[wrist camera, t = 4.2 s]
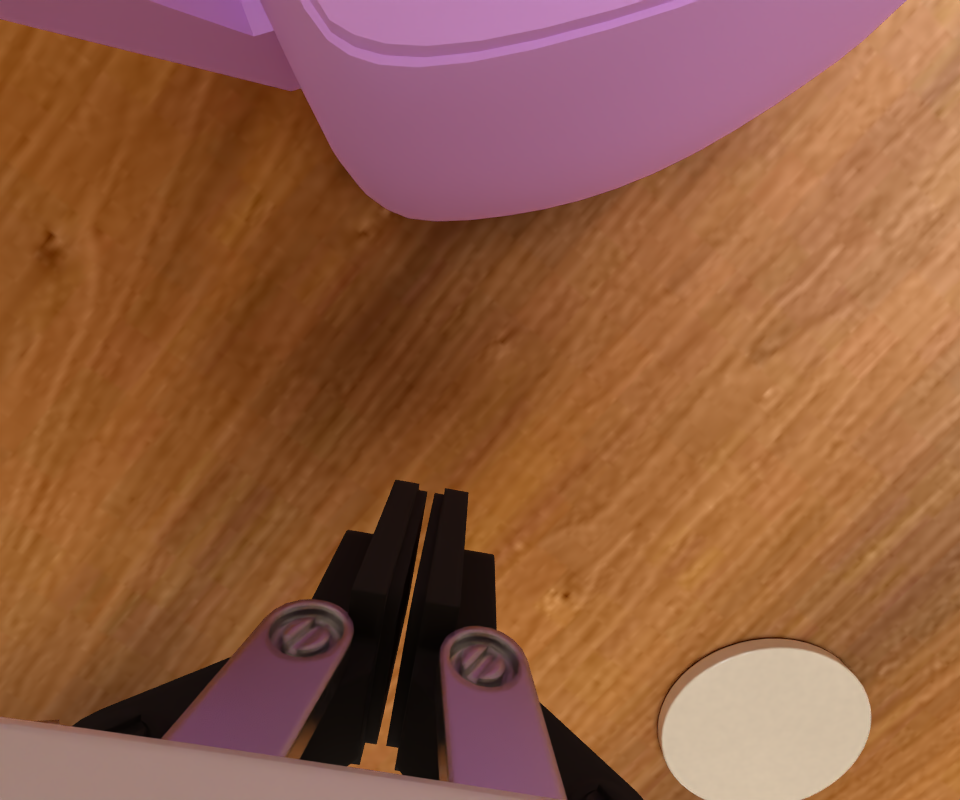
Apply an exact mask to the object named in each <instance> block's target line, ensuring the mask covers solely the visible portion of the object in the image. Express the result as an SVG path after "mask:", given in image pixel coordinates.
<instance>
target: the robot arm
mask: <svg viewBox="0 0 960 800" xmlns="http://www.w3.org/2000/svg"><path fill="white" fill-rule="evenodd" d="M426 497H427V492H426V491H420V490H419V484H417V483H411V482H406V481H400V480H395V482H394V485H393V487H392V490H391V492H390V495H389V497H388V500H387V502H386V505H385V507H384V510H383V512H382V515H381V517H380V520H379V522H378V525H377V527H376V530H375V532H374V534H369V533H363V532H357V531H352V530H347V531H346V533H345V535H344V537H343V539H342V541H341V543H340V545H339V547H338V549H337V551H336V553H335V555H334V556H333V558H332V560H331V562H330V564H329V566H328V568H327V570H326V572H325V574H324V576H323V578H322V580H321V582H320V584H319V586H318V588H317V590H316V592H315V594H314V596H313V598H312V599H307V600H298V601H294V602H290V603H286V604H284V605H282V606H280V607H278V608H276V609H274V610H273V611H272V612H271V613H270V614H269V615H268V616H266V617H265V618H264V619H263V621H262V622H261V623H260V624H259V625H258V626H257V628H256V629H255V630H254V631H253V632H252V633H251V635H250V636H249V637H248V638H247V639H246V640H245V642H244V643H243V644H242V645H241V646H240V647H239V649H238V650H237V651H236V652H235V653H234V654H233V656H232V657H230V658H227V659H225V660H222V661H220V662H217V663H215V664H213V665H210V666H208V667H205V668H203V669H200V670H198V671H195V672H193V673H190V674H188V675H185V676H183V677H180V678H178V679H175V680H173V681H170V682H168V683H165V684H163V685H160V686H158V687H156V688H153V689H151V690H148V691H146V692H143V693H141V694H138V695H136V696H133V697H131V698H128V699H126V700H123V701H121V702H118V703H116V704H113V705H111V706H108V707H106V708H104V709H101V710H99V711H97V712H95V713H93V714H91V715H89V716H87V717H85V718H83V719H81V720H80V721H78V722H77V723H76V724H74V725H73V726H64V725H59V720H47V721H28V720H20V719H13V718H4V717H0V800H643V798H642V797H641V796H640V795H639V794H638V793H637V792H636V791H635V790H634V789H633V788H632V787H631V786H630V785H629V784H628V783H627V782H626V781H624V780H623V779H622V778H621V777H620V776H619V775H618V774H617V773H616V772H615V771H614V770H613V769H611V768H610V767H609V766H608V765H607V764H606V763H605V762H604V761H603V760H602V759H601V758H600V757H598V756H597V755H596V754H595V753H594V752H593V751H592V750H591V749H590V748H589V747H588V746H587V745H585V744H584V743H583V742H582V741H581V740H580V739H579V738H578V737H577V736H576V735H575V734H574V733H572V732H571V731H570V730H569V729H568V728H567V727H566V726H565V725H564V724H563V723H562V722H561V721H559V720H558V719H557V718H556V717H555V716H554V715H553V714H552V713H551V712H550V711H549V710H548V709H546V708H545V707H544V706H543V705H542V704H541V703H540V702H539V699H538V695H537V692H536V689H535V685H534V682H533V678H532V675H531V671H530V668H529V664H528V661H527V658H526V656H525V654H524V652H523V650H522V649H521V648H520V646H519V645H518V644H517V643H516V642H515V641H514V640H513V639H511V638H510V637H508V636H507V635H505V634H504V633H502V632H500V631H497V630H496V595H495V561H494V555H493V554H487V553H481V552H475V551H469V550H464V546H465V533H466V519H467V505H468V492H463V491H457V490H452V489H446V488H445V492H444V495H443V494H438V493H435V494H434V499H433V504H432V508H431V513H430V518H429V522H428V527H427V532H426V536H425V541H424V546H423V550H422V555H421V560H420V564H419V569H418V574H417V578H416V583H415V588H414V593H413V598H412V603H411V608H410V613H409V619H408V625H407V630H406V636H405V642H404V648H403V653H402V659H401V665H400V670H399V676H398V682H397V688H396V693H395V699H394V705H393V710H392V716H391V722H390V728H389V733H388V739H387V745H386V746H391V747H397V748H398V754H397V760H396V765H395V770H397V771H400V772H401V773H402V775H399V774H392V773H386V772H379V771H373V770H366V769H360V768H353V767H347V766H348V765H350V764H357V765H360V761H361V757H362V753H363V749H364V745H365V743H371V744H377V740H378V736H379V732H380V727H381V723H382V718H383V714H384V709H385V705H386V700H387V696H388V691H389V687H390V682H391V678H392V673H393V669H394V664H395V660H396V655H397V651H398V646H399V642H400V637H401V633H402V628H403V624H404V619H405V615H406V610H407V606H408V601H409V595H410V590H411V584H412V578H413V572H414V567H415V561H416V555H417V549H418V543H419V538H420V532H421V526H422V520H423V515H424V509H425V503H426Z"/></svg>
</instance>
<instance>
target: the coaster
mask: <svg viewBox="0 0 960 800" xmlns="http://www.w3.org/2000/svg"><path fill="white" fill-rule="evenodd" d="M870 727H871V708H870V703H869V700H868V696H867V694H866V692H865V690H864V688H863V686H862V684H861V683H860V681H859V680H858V679H857V677H856V676H855V675H854V674H853V673H852V671H851V670H850V669H849V668H848V667H847V666H846V665H845V664H844V663H843V662H842V661H841V660H840V659H838V658H837V657H835V656H834V655H833V654H831V653H829V652H827V651H825V650H824V649H822V648H820V647H817V646H814V645H812V644H809V643H805V642H801V641H797V640H790V639H758V640H751V641H746V642H742V643H738V644H734V645H731V646H728V647H725V648H723V649H721V650H719V651H716V652H714V653H712V654H710V655H709V656H707V657H705V658H703V659H702V660H700V661H699V662H697V663H696V664H695V665H693V666H692V667H691V668H689V669H688V670H687V671H686V672H685V673H684V674H683V675H682V676H681V677H680V678H679V679H678V680H677V682H676V683H675V684H674V685H673V686H672V688H671V690H670V691H669V693H668V694H667V696H666V698H665V700H664V703H663V705H662V707H661V711H660V715H659V720H658V739H659V743H660V748H661V751H662V753H663V756H664V759H665V761H666V764H667V766H668V768H669V769H670V771H671V772H672V774H673V775H674V777H675V778H676V779H677V780H678V781H679V782H680V783H681V784H682V785H683V786H684V787H685V788H686V789H688V790H689V791H690V792H692V793H694V794H695V795H697V796H698V797H700V798H702V799H705V800H802V799H805V798H808V797H810V796H812V795H814V794H816V793H818V792H820V791H822V790H823V789H825V788H826V787H828V786H829V785H831V784H832V783H834V782H835V781H836V780H837V779H839V778H840V777H841V776H842V775H843V774H844V773H845V772H846V771H847V770H848V769H849V768H850V767H851V766H852V765H853V763H854V762H855V761H856V760H857V758H858V757H859V755H860V753H861V752H862V750H863V748H864V746H865V744H866V741H867V739H868V736H869V732H870Z"/></svg>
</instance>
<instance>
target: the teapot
mask: <svg viewBox="0 0 960 800" xmlns="http://www.w3.org/2000/svg"><path fill="white" fill-rule="evenodd" d="M905 1H906V0H0V19H2V20H6V21H10V22H14V23H18V24H23V25H27V26H31V27H35V28H39V29H43V30H47V31H51V32H55V33H59V34H63V35H67V36H71V37H75V38H79V39H83V40H87V41H91V42H95V43H99V44H103V45H107V46H111V47H115V48H119V49H123V50H127V51H131V52H135V53H139V54H143V55H147V56H151V57H155V58H159V59H163V60H167V61H171V62H175V63H179V64H183V65H187V66H192V67H196V68H200V69H204V70H208V71H212V72H216V73H220V74H224V75H228V76H232V77H236V78H240V79H244V80H248V81H252V82H256V83H260V84H264V85H268V86H272V87H276V88H280V89H284V90H288V91H294V90H297V89H302V91H303V93H304V95H305V97H306V99H307V101H308V103H309V105H310V107H311V109H312V111H313V113H314V115H315V117H316V119H317V121H318V123H319V125H320V127H321V129H322V131H323V133H324V135H325V137H326V139H327V141H328V143H329V145H330V147H331V149H332V150H333V152H334V153H335V155H336V156H337V158H338V160H339V161H340V162H341V164H342V165H343V166H344V168H345V169H346V170H347V171H348V173H349V174H350V175H351V177H352V178H353V179H354V180H355V182H356V183H357V184H358V186H359V187H360V188H361V189H362V190H363V191H364V192H365V194H366V195H368V196H369V197H370V198H372V199H373V200H374V201H376V202H377V203H378V204H380V205H381V206H382V207H384V208H386V209H388V210H389V211H392V212H394V213H397V214H399V215H401V216H404V217H406V218H409V219H419V220H428V221H459V220H475V219H484V218H492V217H500V216H509V215H514V214H520V213H526V212H532V211H537V210H543V209H547V208H551V207H556V206H560V205H564V204H568V203H572V202H576V201H580V200H583V199H586V198H589V197H592V196H595V195H598V194H601V193H605V192H608V191H611V190H614V189H617V188H619V187H622V186H624V185H627V184H629V183H632V182H634V181H637V180H639V179H642V178H644V177H646V176H649V175H651V174H654V173H656V172H658V171H660V170H662V169H664V168H666V167H668V166H670V165H672V164H674V163H676V162H678V161H680V160H682V159H685V158H687V157H688V156H690V155H692V154H694V153H696V152H698V151H700V150H701V149H703V148H705V147H707V146H708V145H710V144H712V143H714V142H715V141H717V140H719V139H721V138H722V137H724V136H726V135H727V134H729V133H731V132H733V131H734V130H736V129H738V128H739V127H741V126H742V125H744V124H746V123H747V122H749V121H750V120H752V119H754V118H755V117H757V116H758V115H760V114H761V113H763V112H765V111H766V110H768V109H769V108H771V107H773V106H774V105H776V104H777V103H778V102H780V101H781V100H783V99H784V98H786V97H787V96H789V95H790V94H792V93H793V92H795V91H796V90H797V89H799V88H800V87H802V86H803V85H804V84H806V83H807V82H809V81H810V80H812V79H813V78H814V77H816V76H817V75H819V74H820V73H821V72H823V71H824V70H826V69H827V68H829V67H830V66H831V65H833V64H834V63H836V62H837V61H838V60H840V59H841V58H842V57H843V56H845V55H846V54H847V53H848V52H850V51H851V50H852V49H853V48H855V47H856V46H857V45H858V44H860V43H861V42H862V41H863V40H864V39H865V38H866V37H868V36H869V35H870V34H871V33H872V32H873V31H874V30H875V29H876V28H877V27H878V26H879V25H880V24H882V23H883V22H884V21H885V20H886V19H887V18H888V17H889V16H890V15H891V14H892V13H893V12H894V11H896V10H897V9H898V8H899V7H900V6H901V5H902V4H903V3H904V2H905Z"/></svg>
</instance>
